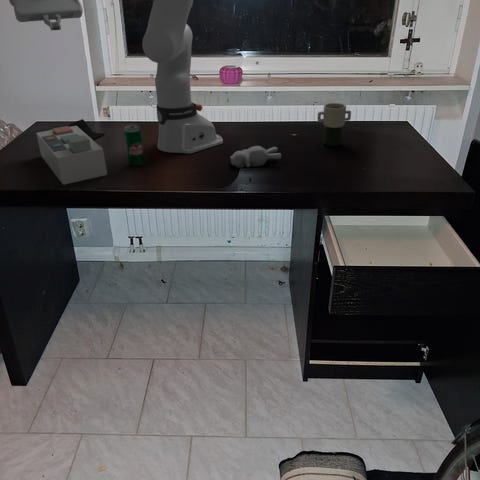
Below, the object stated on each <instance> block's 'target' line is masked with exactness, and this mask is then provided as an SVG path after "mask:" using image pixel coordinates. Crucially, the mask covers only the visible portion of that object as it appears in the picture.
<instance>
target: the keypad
mask: <svg viewBox="0 0 480 480" xmlns="http://www.w3.org/2000/svg"><path fill="white" fill-rule="evenodd" d="M70 128H71V129H72V131H73V133H67V134H62V135H57V136H56V135H55V134H54V133H53V129H49V130H45V131H40V132H36V133H35V135H36V138H37V143H38V148H39V151H40V155H41V156H40V157H41V158H42V159H43V160H44V161H45V163H46V164H47V165H48V167H49V168H50V169H51V171H52V172H53V173H54V175H55V176H56V177H57V179H58V180H59V182H61V184H62V185H67V184H73V183H77V182H82V181H85V180H91V179H95V178H99V177H104V176H107V175H108V171H107V164H106V159H105V153H104V148H102V146H101V145H100V144H98V143H97V142H96V141H95V140H94V141H93V140H92V139H91V138H90V137H89V136H88V135H87V134H85V133H84V132H83V131H82V130H81V129H80V128H79V127H77V126H72V127H70ZM72 134H77V135H79V136H82V135H85V136H86V137H87V138H88V139H89V140H90V145H91V150H89V151H84V152H79V153H74V154H73V153H72V152H71V151H70V149H69V144H64V143H63V142H62V141H61V138H60V137H61V136H67V135H72Z"/></svg>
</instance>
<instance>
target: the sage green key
mask: <svg viewBox="0 0 480 480" xmlns="http://www.w3.org/2000/svg"><path fill="white" fill-rule="evenodd" d="M67 139H68V144H69V149H70V151H71V152H72V153H73V154H74V153H79V152H84V151H89V150H91V145H90V140H89V139H88V138H87V137H86V136H85V135H82V136H77V137H72V138H67Z"/></svg>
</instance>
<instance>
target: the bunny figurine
mask: <svg viewBox="0 0 480 480" xmlns="http://www.w3.org/2000/svg"><path fill="white" fill-rule="evenodd" d="M276 152H277V153H276ZM229 157H230V163H231V166H235V167H236V168H245V166H246V167H247V168H250V167H260V166H264V165H265V164H266V162H267V160H268V159H270V160H273V159H274V160H280V159H282V153H281V152H278V147H276V146H272V147H270V148H268V149H266V148H264V147H262V146H260V145H254V146H251V147H249V148H248V149H242V150H236V151H235V152H233V154H232V155H231V156H229Z"/></svg>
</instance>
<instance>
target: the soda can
mask: <svg viewBox="0 0 480 480" xmlns="http://www.w3.org/2000/svg"><path fill="white" fill-rule="evenodd" d="M123 135H124V140H125V148H126V155H127V160H128V165H129V166H131V167H133V168H135V167H137V168H138V167H142V166H143V165H145V163H146V159H145V151H144V144H143V143H144V142H143V136H142V129H141V127H140V125H138V124H129V125H126V126H124V129H123Z"/></svg>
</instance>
